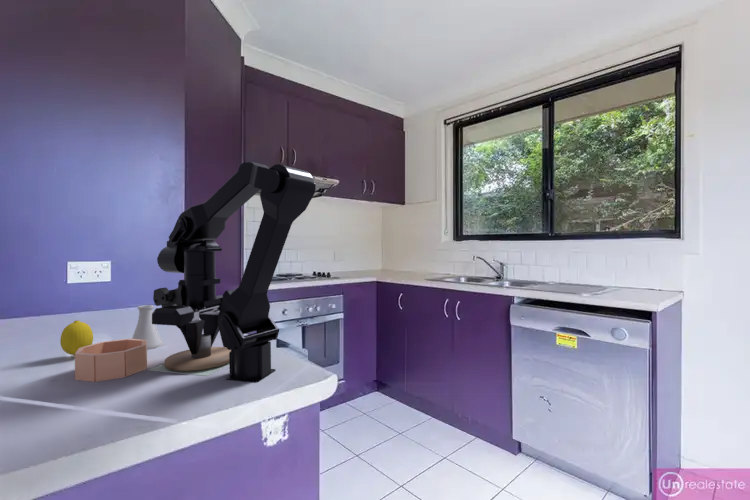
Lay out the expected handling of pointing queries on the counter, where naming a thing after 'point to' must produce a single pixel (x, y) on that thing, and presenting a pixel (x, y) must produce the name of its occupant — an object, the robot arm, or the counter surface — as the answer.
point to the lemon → (76, 337)
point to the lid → (198, 357)
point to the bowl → (110, 359)
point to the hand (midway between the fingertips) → (201, 351)
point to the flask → (147, 328)
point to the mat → (194, 372)
